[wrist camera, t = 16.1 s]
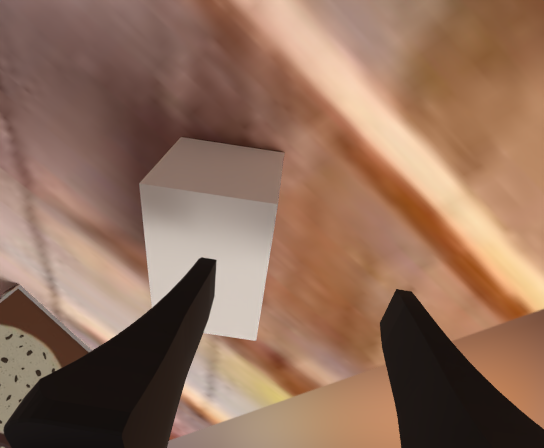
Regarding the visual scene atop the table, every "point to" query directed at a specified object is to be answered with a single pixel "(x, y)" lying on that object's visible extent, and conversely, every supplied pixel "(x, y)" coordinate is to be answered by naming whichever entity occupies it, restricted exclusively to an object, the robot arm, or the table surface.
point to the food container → (29, 349)
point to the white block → (213, 225)
